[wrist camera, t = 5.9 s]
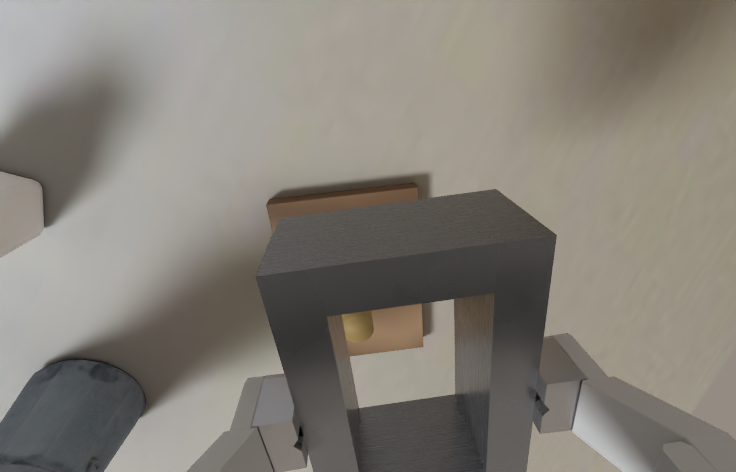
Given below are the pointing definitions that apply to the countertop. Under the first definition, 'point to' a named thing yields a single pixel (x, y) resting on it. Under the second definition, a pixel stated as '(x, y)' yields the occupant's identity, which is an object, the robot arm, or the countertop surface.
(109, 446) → the moka pot
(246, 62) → the countertop surface
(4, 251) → the pepper shaker
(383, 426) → the link
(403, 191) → the keeper
